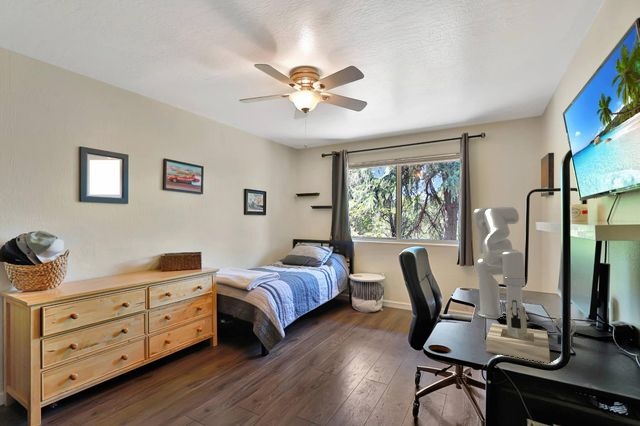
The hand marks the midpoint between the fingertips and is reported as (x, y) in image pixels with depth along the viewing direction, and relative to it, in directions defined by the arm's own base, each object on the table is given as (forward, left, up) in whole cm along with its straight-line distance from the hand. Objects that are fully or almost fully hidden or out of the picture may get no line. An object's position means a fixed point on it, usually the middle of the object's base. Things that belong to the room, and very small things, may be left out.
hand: (516, 324), depth 122 cm
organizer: (0, 0, -9) cm, 9 cm away
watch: (-15, +16, -9) cm, 24 cm away
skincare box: (0, 0, -5) cm, 5 cm away
